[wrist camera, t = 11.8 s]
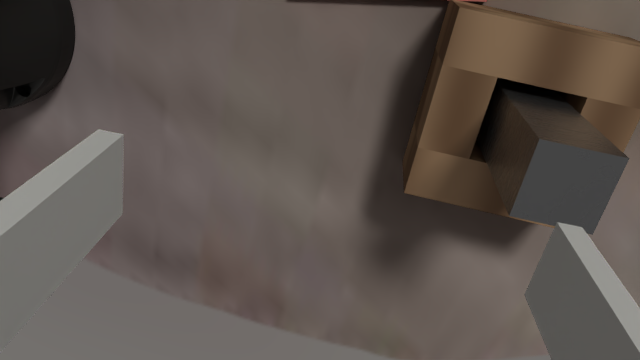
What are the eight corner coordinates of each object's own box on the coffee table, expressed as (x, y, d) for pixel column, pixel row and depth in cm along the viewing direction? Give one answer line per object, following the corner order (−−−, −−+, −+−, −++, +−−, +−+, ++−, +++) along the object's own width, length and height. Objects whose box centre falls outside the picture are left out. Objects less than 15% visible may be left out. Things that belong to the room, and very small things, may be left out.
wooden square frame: (402, 161, 43) (404, 192, 37) (449, -2, 37) (459, 7, 32) (558, 197, 42) (583, 234, 37) (630, 37, 37) (671, 54, 31)
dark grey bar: (470, 125, 41) (509, 215, 27) (488, 70, 39) (539, 139, 25) (525, 137, 41) (592, 234, 27) (546, 83, 39) (629, 158, 25)
